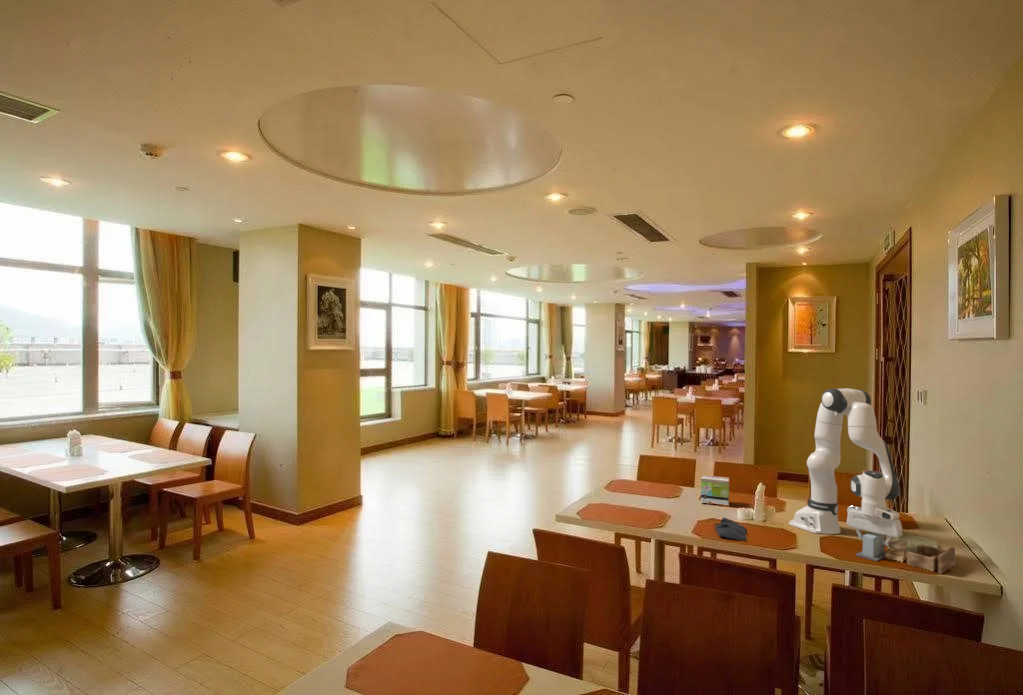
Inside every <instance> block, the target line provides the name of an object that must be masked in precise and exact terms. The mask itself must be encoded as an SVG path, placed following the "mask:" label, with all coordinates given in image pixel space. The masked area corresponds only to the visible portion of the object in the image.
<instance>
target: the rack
mask: <svg viewBox="0 0 1023 695" xmlns="http://www.w3.org/2000/svg"><path fill="white" fill-rule="evenodd" d="M907 564H908V566H910V565H912V566H911V567H914V566H917V567H919V568H918V569H921V568H923V569H922V570H925V569H927V570H926V571H928V570H930V571H929V572H932V571H934V572H935V570H936V569H937V570H936V571H937V574H940V575H942V574H944V573H945V572H947V571H948V570H950V569H951V568H952V567H954V566H955V565H956V548H955V547H953V546H951V547H949V548H948V549H942V548H939V547H938V548H934V547H930V546H926V545H922V544H921V545H919V546H918V547H917V554H916V553H915V551H913V550H910V551H908V552H907V560H906V565H907ZM917 567H916V568H917Z"/></svg>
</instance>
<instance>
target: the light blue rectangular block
mask: <svg viewBox="0 0 1023 695" xmlns="http://www.w3.org/2000/svg"><path fill="white" fill-rule="evenodd" d="M862 535H863V540H862V551H863V555H866V556H870V557H875V556H877V555H879V554H881V553H883V552H884V551H885V546H884V545H883V544H884V543H883V541H885V535H882V534H878V533H874V532H870V531H869V532H868V533H866V534H862Z"/></svg>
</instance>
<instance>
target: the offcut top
mask: <svg viewBox="0 0 1023 695" xmlns="http://www.w3.org/2000/svg"><path fill="white" fill-rule="evenodd" d="M888 547H891V548H894V549H898V550H899V549H903V548H907V541H903V540H900V539H893V540H890V541H889V546H887V548H888Z"/></svg>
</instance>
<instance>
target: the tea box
mask: <svg viewBox="0 0 1023 695" xmlns="http://www.w3.org/2000/svg"><path fill="white" fill-rule="evenodd" d="M729 502H730V477H725V476H715V475H706V474H702V475H701V478H700V504H701V503H715V504H723V505H728V506H729V505H730V504H729Z"/></svg>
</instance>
